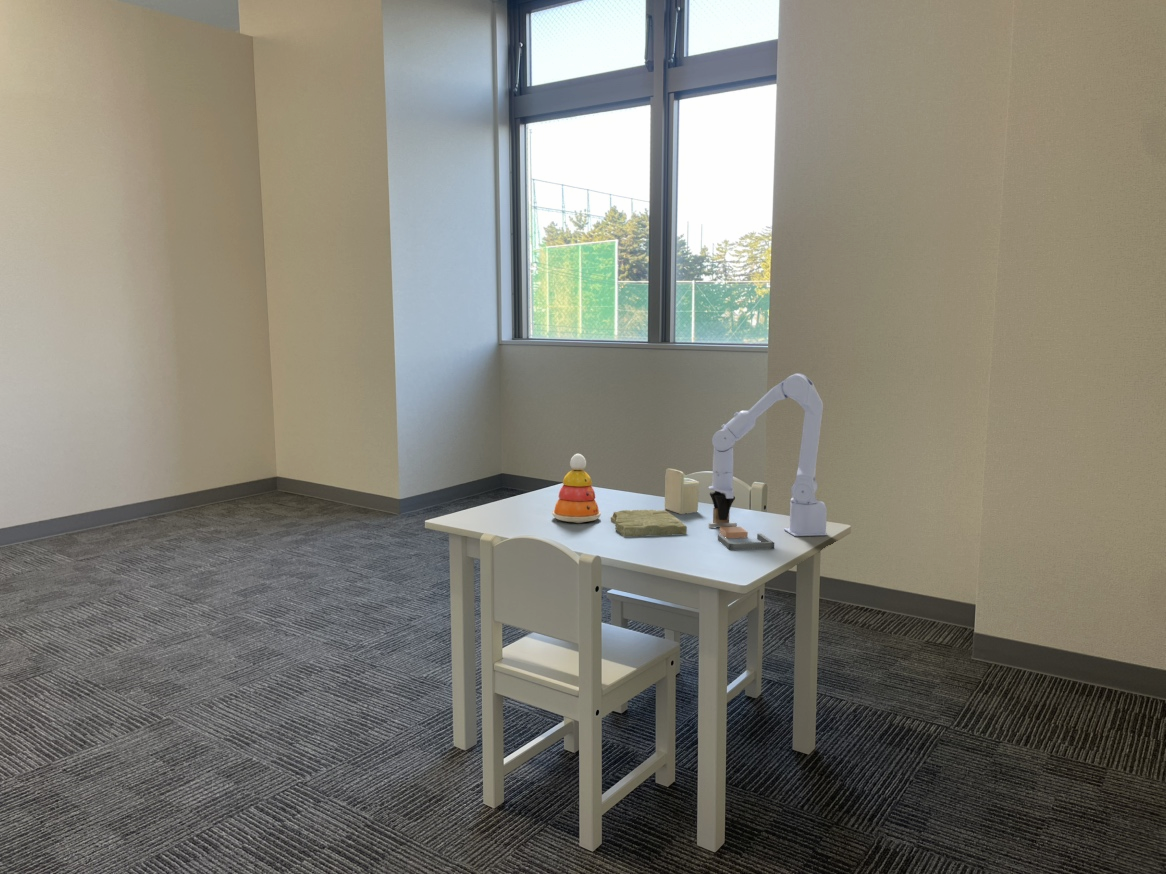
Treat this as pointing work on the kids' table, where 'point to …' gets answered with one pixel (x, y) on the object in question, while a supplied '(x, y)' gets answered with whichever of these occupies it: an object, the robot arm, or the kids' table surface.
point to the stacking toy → (577, 495)
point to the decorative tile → (647, 523)
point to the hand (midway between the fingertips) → (721, 518)
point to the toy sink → (680, 492)
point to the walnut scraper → (720, 521)
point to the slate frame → (763, 544)
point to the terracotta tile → (733, 532)
